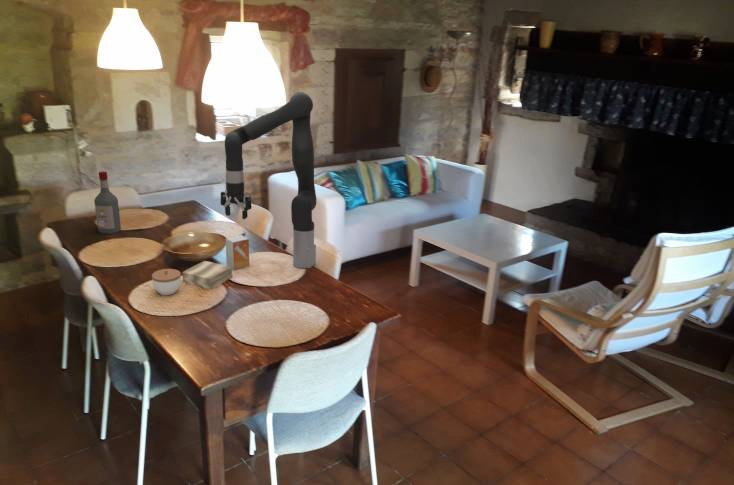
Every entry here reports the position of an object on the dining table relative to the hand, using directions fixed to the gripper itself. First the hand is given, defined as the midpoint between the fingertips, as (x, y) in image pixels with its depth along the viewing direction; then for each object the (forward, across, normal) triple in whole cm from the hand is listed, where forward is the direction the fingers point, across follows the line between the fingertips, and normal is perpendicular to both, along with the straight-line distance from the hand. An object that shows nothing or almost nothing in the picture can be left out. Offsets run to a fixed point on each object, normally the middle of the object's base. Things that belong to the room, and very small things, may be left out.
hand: (236, 217), depth 246 cm
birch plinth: (+23, +2, +18) cm, 29 cm away
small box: (+23, 0, 0) cm, 23 cm away
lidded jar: (+23, +8, +35) cm, 43 cm away
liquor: (+23, +81, -4) cm, 84 cm away
